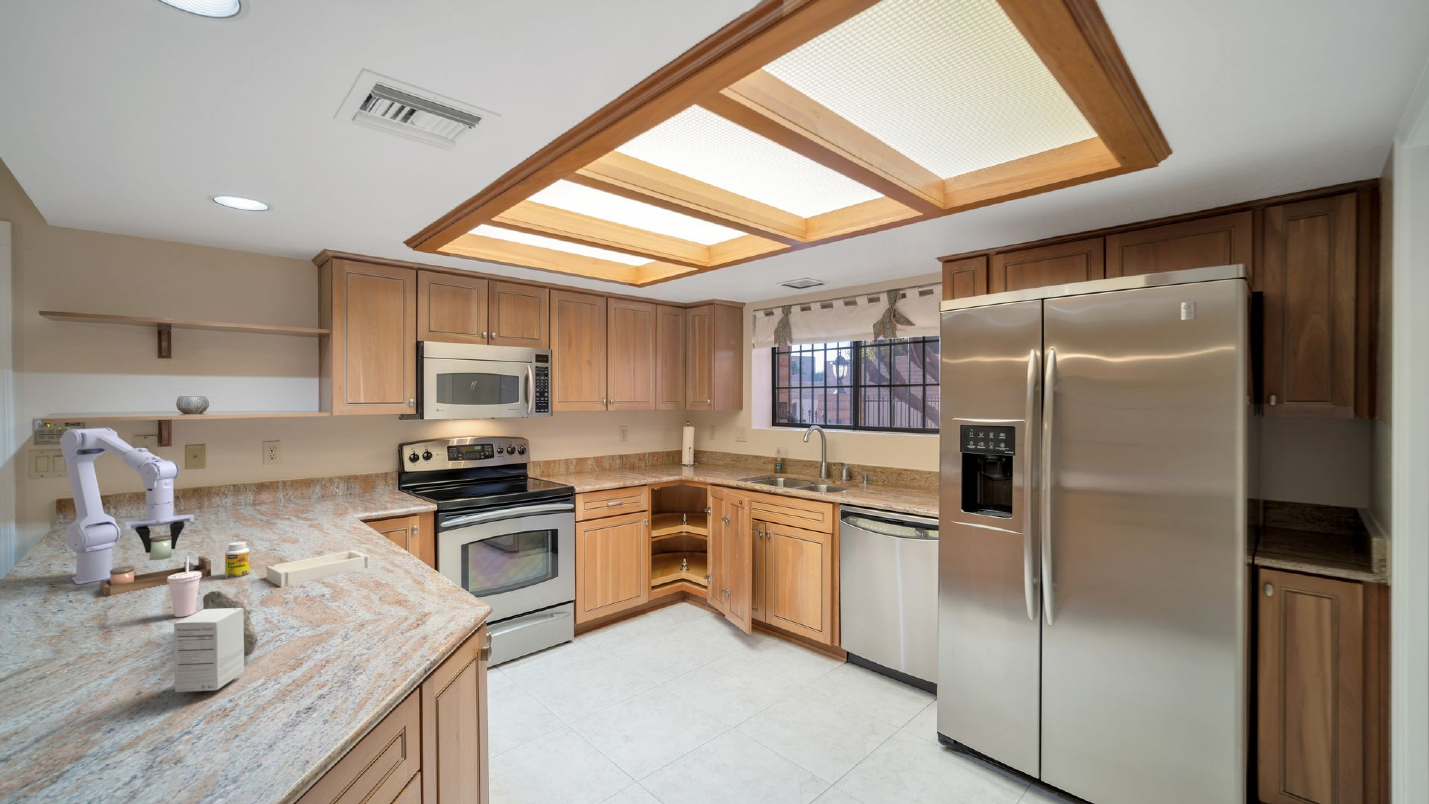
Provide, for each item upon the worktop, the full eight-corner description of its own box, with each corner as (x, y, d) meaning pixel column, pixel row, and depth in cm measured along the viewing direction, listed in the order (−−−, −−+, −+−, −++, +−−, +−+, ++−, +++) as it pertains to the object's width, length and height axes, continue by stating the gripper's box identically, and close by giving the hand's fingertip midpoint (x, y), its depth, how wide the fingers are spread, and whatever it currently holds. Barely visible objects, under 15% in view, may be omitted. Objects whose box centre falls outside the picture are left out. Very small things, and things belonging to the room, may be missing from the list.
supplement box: (204, 673, 113) (204, 608, 113) (245, 672, 114) (245, 606, 114) (172, 693, 106) (172, 622, 106) (216, 691, 106) (216, 621, 106)
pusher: (184, 575, 176) (183, 562, 176) (192, 574, 177) (192, 560, 177) (189, 579, 172) (189, 565, 172) (198, 577, 174) (198, 564, 174)
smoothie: (208, 611, 147) (208, 555, 147) (177, 620, 141) (177, 561, 141) (191, 608, 149) (191, 552, 149) (160, 617, 143) (160, 559, 143)
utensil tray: (266, 580, 172) (266, 566, 172) (353, 562, 191) (353, 550, 191) (281, 588, 165) (281, 573, 165) (370, 569, 183) (370, 556, 183)
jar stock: (108, 590, 163) (108, 569, 163) (132, 586, 167) (132, 565, 167) (111, 594, 160) (111, 572, 160) (136, 589, 164) (136, 568, 164)
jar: (149, 561, 166) (149, 539, 166) (148, 558, 169) (148, 537, 169) (172, 557, 169) (172, 536, 169) (171, 555, 172) (171, 534, 173)
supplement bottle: (223, 581, 171) (223, 546, 171) (226, 576, 175) (226, 542, 175) (248, 578, 174) (248, 543, 174) (250, 573, 179) (250, 540, 179)
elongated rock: (192, 628, 136) (192, 585, 136) (221, 621, 140) (221, 579, 140) (238, 670, 115) (238, 619, 115) (271, 661, 119) (271, 611, 119)
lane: (100, 590, 163) (100, 572, 163) (202, 572, 180) (202, 555, 180) (106, 597, 158) (106, 578, 158) (210, 577, 175) (210, 560, 175)
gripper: (127, 508, 161) (127, 558, 161) (196, 501, 173) (196, 547, 173) (122, 505, 165) (122, 554, 165) (190, 498, 177) (190, 543, 177)
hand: (160, 550), depth 169 cm, fingers closed on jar, 5 cm apart
